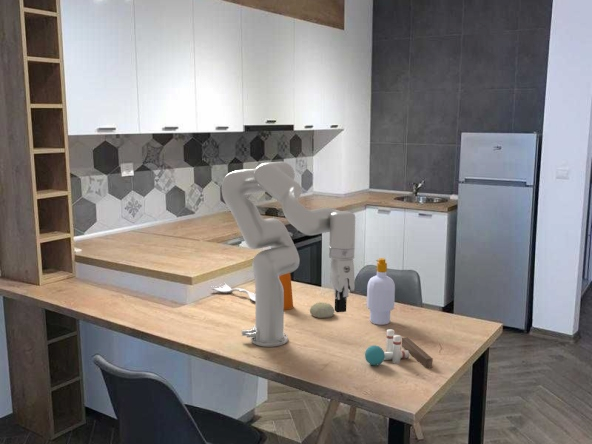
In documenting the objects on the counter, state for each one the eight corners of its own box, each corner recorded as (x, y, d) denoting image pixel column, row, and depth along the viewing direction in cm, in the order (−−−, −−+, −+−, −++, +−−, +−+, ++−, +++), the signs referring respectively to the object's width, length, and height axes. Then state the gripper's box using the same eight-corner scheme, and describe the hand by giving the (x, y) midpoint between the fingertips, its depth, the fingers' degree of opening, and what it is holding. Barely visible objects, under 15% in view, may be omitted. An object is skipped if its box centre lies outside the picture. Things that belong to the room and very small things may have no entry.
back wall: (426, 368, 181) (426, 359, 180) (401, 346, 198) (402, 337, 198) (432, 367, 181) (432, 358, 181) (407, 345, 199) (407, 337, 198)
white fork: (222, 288, 263) (222, 280, 263) (280, 302, 245) (280, 293, 244) (208, 293, 256) (208, 285, 256) (266, 307, 238) (266, 299, 237)
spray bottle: (269, 311, 232) (269, 245, 227) (279, 303, 242) (279, 240, 237) (285, 313, 229) (286, 247, 225) (295, 305, 239) (296, 242, 235)
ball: (388, 366, 182) (369, 371, 183) (385, 350, 186) (366, 355, 188) (382, 355, 178) (363, 360, 179) (380, 339, 183) (361, 344, 184)
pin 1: (387, 357, 189) (388, 332, 187) (384, 354, 191) (385, 329, 190) (395, 356, 189) (395, 331, 188) (391, 353, 192) (392, 328, 190)
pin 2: (394, 364, 184) (395, 338, 182) (391, 360, 186) (392, 335, 185) (401, 363, 185) (402, 337, 183) (398, 360, 187) (399, 334, 185)
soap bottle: (360, 322, 221) (362, 259, 217) (376, 315, 229) (378, 254, 224) (383, 328, 214) (385, 263, 210) (399, 321, 222) (401, 259, 218)
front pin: (384, 354, 185) (409, 352, 187) (381, 350, 188) (406, 348, 189) (383, 361, 186) (409, 359, 188) (381, 358, 188) (406, 355, 190)
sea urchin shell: (318, 304, 235) (329, 294, 231) (329, 321, 233) (341, 310, 228) (303, 310, 228) (315, 299, 224) (314, 327, 226) (327, 316, 221)
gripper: (362, 257, 171) (360, 318, 174) (345, 246, 185) (344, 303, 188) (337, 259, 169) (336, 320, 172) (322, 247, 183) (321, 304, 187)
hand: (340, 311), depth 180 cm, fingers closed
